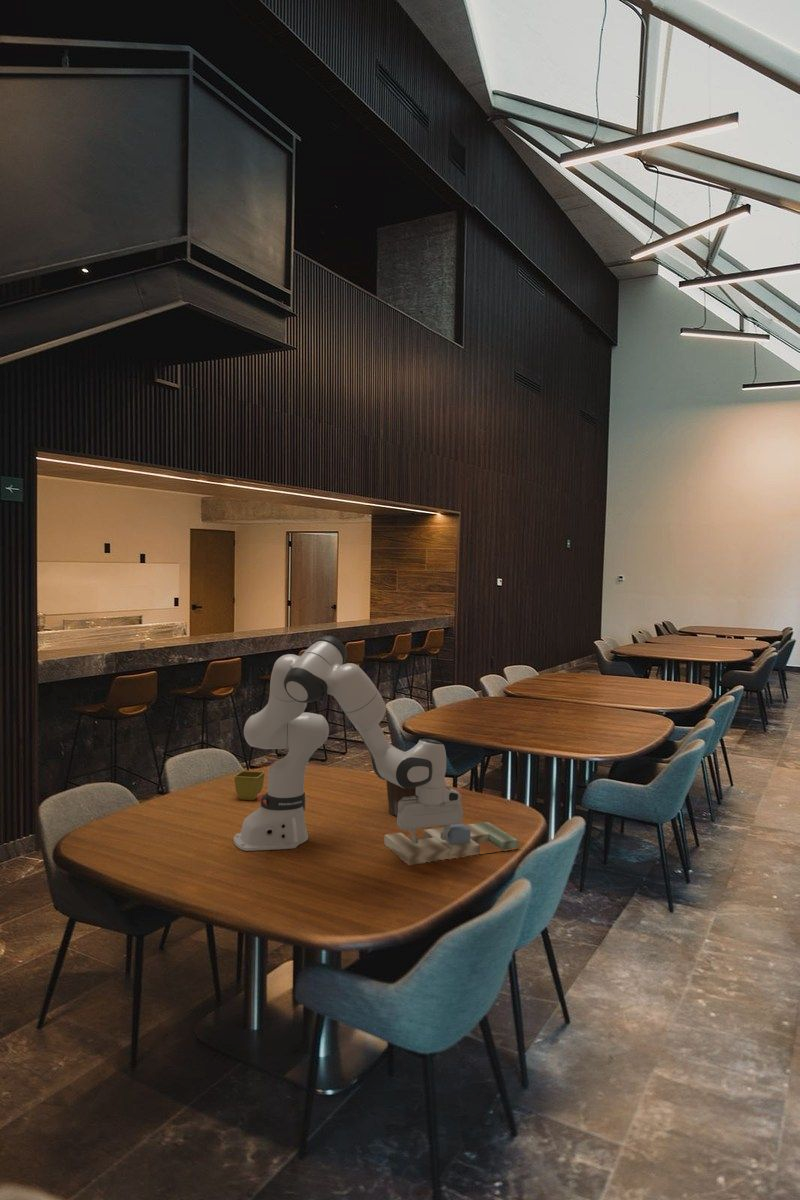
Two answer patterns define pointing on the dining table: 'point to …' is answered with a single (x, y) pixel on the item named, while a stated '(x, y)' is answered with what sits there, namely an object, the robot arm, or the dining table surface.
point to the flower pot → (249, 784)
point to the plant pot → (397, 796)
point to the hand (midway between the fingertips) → (429, 841)
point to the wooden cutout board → (447, 844)
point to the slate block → (458, 834)
